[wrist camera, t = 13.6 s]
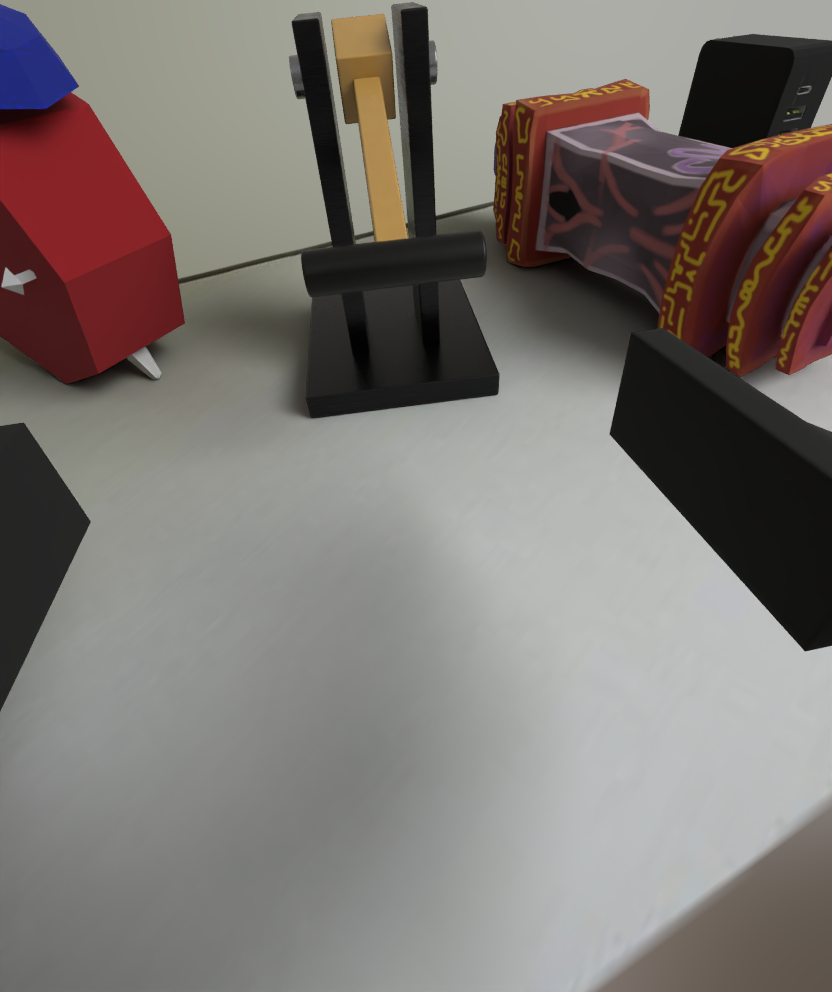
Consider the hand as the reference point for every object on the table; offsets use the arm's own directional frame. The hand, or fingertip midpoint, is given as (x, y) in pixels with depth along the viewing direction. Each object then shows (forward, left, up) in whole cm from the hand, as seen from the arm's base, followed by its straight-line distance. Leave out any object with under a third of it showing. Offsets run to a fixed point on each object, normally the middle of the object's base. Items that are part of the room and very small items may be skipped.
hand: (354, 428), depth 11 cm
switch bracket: (+2, +18, -9) cm, 20 cm away
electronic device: (+34, +40, -9) cm, 53 cm away
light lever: (+2, +14, +1) cm, 14 cm away
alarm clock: (-17, +20, -9) cm, 28 cm away
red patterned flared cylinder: (+17, +23, -9) cm, 30 cm away
